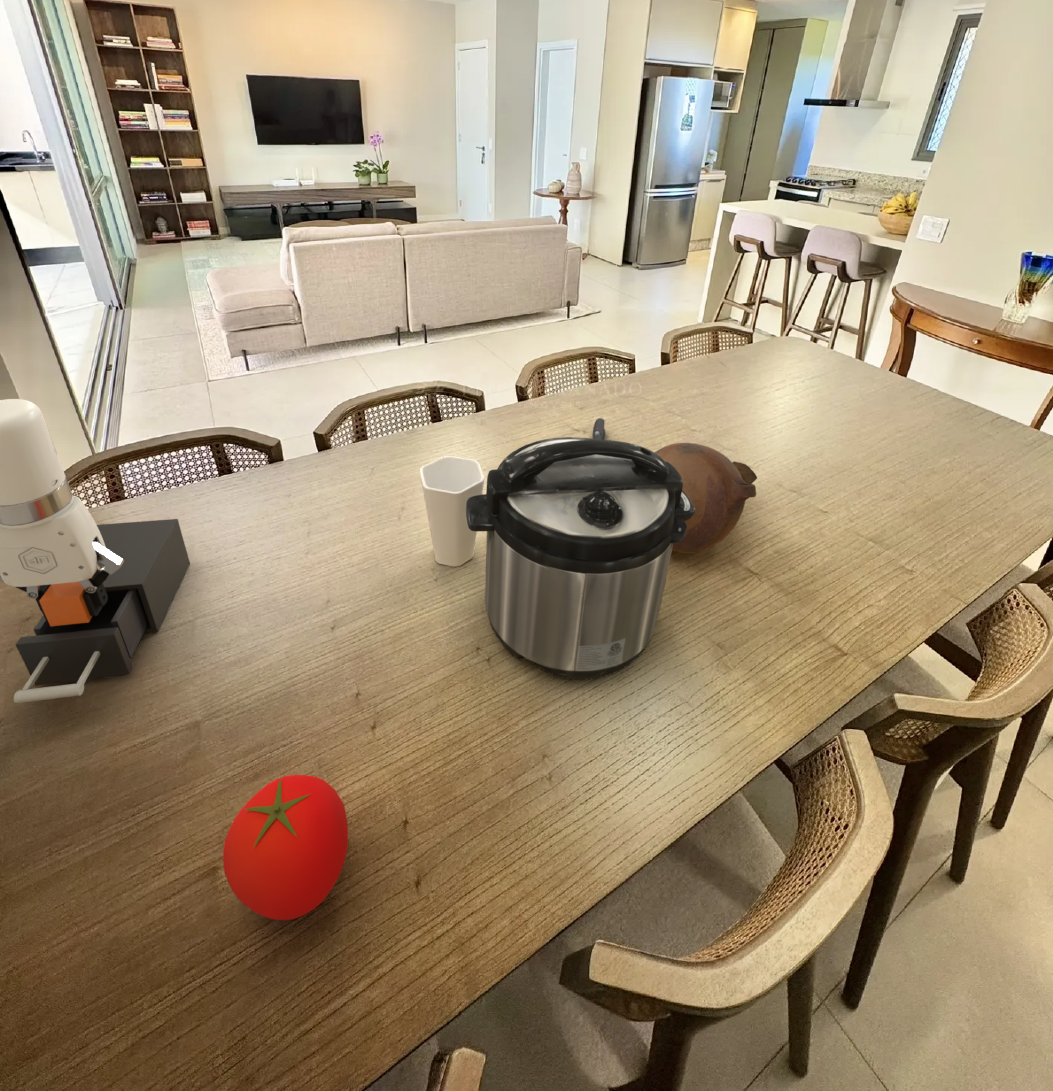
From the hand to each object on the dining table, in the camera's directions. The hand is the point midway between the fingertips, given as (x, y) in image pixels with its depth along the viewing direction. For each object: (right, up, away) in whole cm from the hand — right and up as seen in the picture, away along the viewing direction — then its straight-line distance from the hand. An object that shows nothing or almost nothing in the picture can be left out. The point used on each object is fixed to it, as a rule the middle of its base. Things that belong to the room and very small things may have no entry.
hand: (77, 609), depth 79 cm
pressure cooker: (+67, -6, +16) cm, 69 cm away
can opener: (+76, +15, +61) cm, 99 cm away
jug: (+93, +3, +37) cm, 100 cm away
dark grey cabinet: (-2, -4, +15) cm, 15 cm away
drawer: (0, -8, +4) cm, 9 cm away
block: (0, 0, 0) cm, 0 cm away
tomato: (+36, -22, -17) cm, 46 cm away
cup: (+47, 0, +27) cm, 54 cm away
